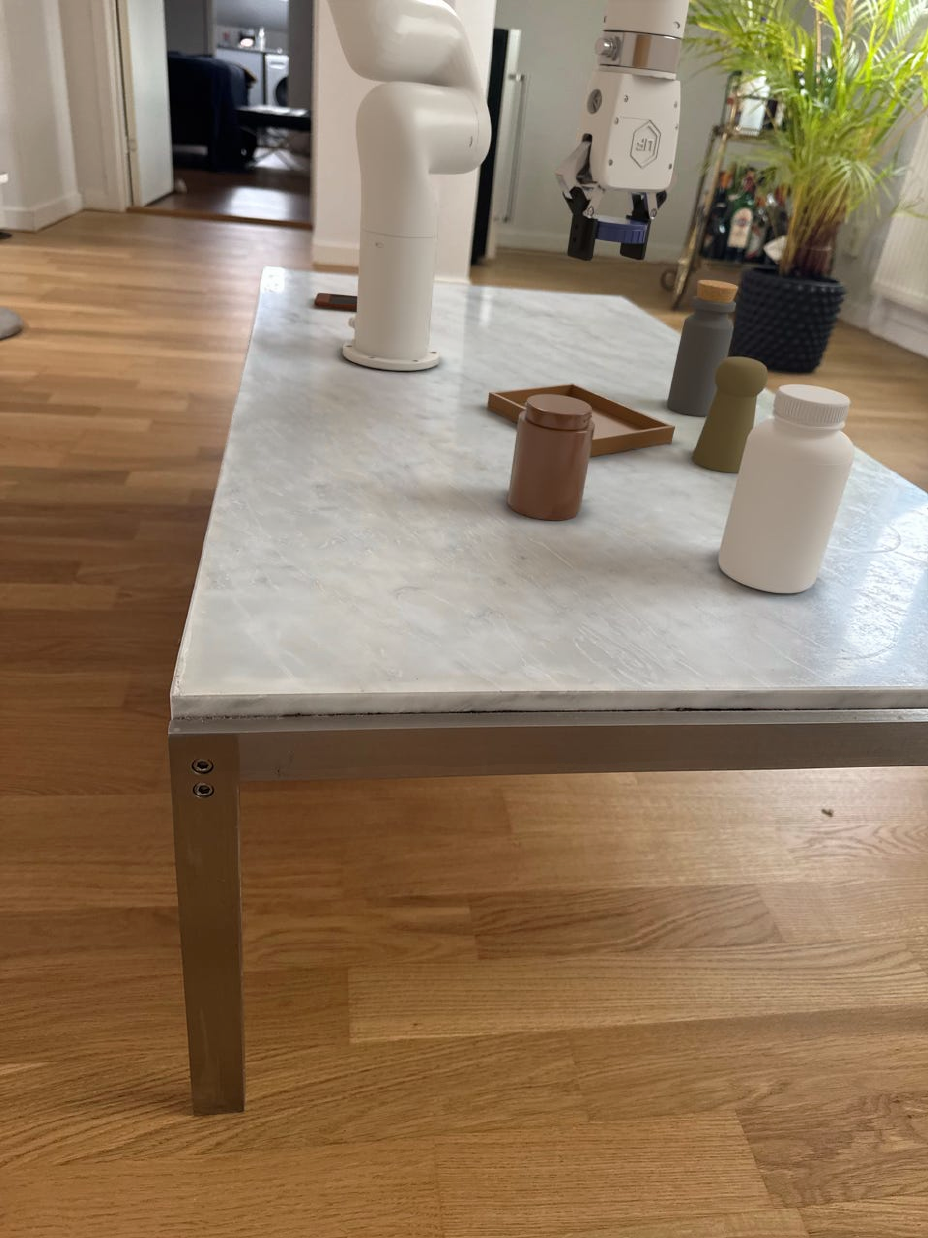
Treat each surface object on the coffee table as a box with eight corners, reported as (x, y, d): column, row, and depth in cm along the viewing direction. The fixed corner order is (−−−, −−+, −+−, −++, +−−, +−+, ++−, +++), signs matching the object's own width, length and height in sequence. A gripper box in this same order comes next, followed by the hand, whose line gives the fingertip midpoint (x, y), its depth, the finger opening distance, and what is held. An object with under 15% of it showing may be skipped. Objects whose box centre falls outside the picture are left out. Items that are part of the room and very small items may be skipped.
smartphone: (412, 309, 146) (314, 300, 144) (411, 316, 146) (313, 307, 145) (411, 300, 152) (317, 291, 150) (410, 306, 152) (317, 297, 151)
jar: (497, 509, 83) (511, 405, 79) (520, 486, 89) (533, 387, 84) (569, 526, 82) (587, 421, 77) (587, 501, 87) (605, 402, 82)
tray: (487, 408, 109) (488, 392, 108) (570, 398, 116) (572, 382, 115) (586, 457, 98) (589, 440, 97) (671, 442, 105) (675, 426, 104)
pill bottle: (702, 549, 80) (746, 374, 73) (792, 554, 81) (844, 382, 74) (733, 593, 73) (785, 405, 66) (830, 598, 74) (892, 413, 67)
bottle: (714, 419, 115) (744, 291, 107) (666, 411, 115) (693, 283, 108) (713, 406, 120) (742, 283, 112) (666, 398, 120) (692, 276, 113)
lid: (563, 230, 97) (566, 213, 96) (611, 232, 101) (614, 215, 100) (610, 243, 92) (613, 224, 91) (658, 243, 96) (662, 226, 95)
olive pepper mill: (716, 474, 97) (743, 368, 92) (679, 454, 102) (703, 351, 96) (760, 470, 100) (788, 366, 94) (722, 450, 104) (747, 350, 99)
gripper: (598, 49, 82) (567, 266, 90) (729, 69, 91) (689, 264, 100) (543, 46, 87) (518, 251, 95) (672, 65, 96) (639, 251, 105)
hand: (606, 256), depth 98 cm, fingers closed on lid, 6 cm apart
